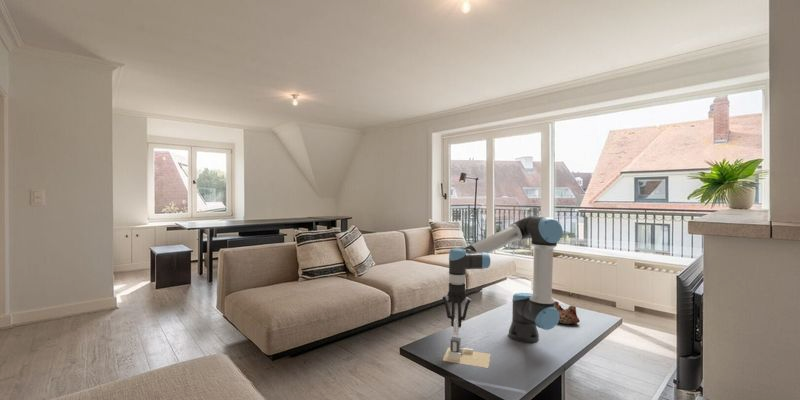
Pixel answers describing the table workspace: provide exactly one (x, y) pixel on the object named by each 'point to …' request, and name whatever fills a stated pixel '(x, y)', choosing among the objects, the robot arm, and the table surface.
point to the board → (468, 357)
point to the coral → (567, 314)
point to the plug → (455, 344)
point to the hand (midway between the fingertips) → (456, 333)
